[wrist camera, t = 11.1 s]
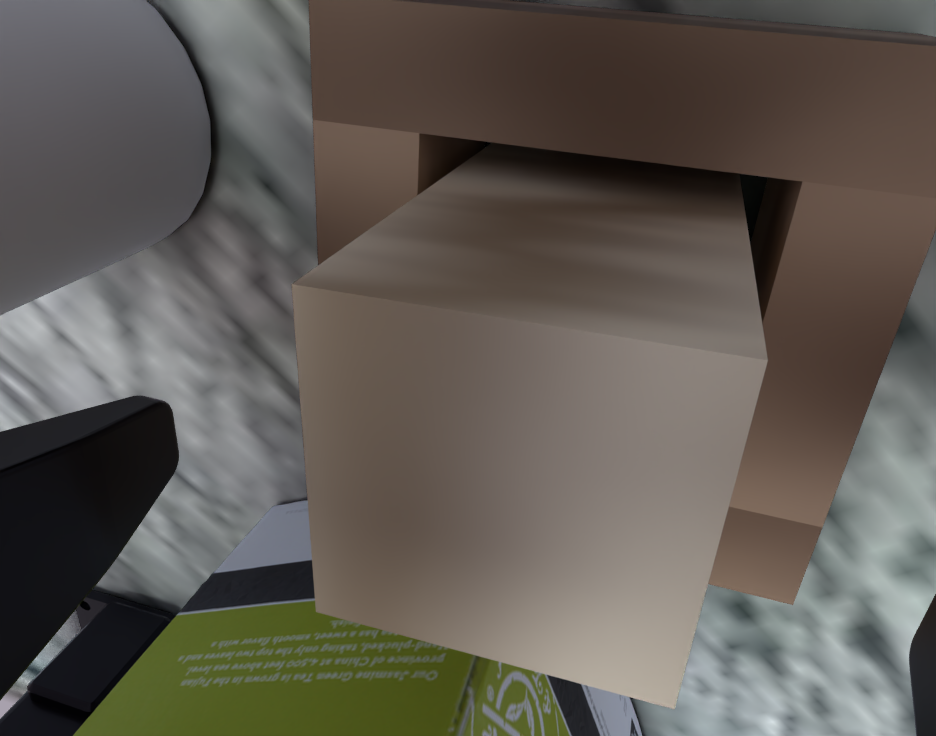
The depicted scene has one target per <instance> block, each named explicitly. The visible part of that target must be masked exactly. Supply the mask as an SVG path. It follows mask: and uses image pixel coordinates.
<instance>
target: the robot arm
mask: <svg viewBox="0 0 936 736" xmlns="http://www.w3.org/2000/svg"><path fill="white" fill-rule="evenodd" d="M178 461H179V450H178V443H177V437H176V430H175V424H174V417H173V412H172V409H171V407H170V405H169V404H168V403H166V402H165V401H162V400H158V399H154V398H150V397H145V396H132V397H128V398H125V399H121V400H117V401H113V402H110V403H106V404H102V405H99V406H95V407H91V408H87V409H84V410H80V411H76V412H73V413H69V414H65V415H62V416H58V417H54V418H50V419H47V420H43V421H39V422H36V423H32V424H28V425H25V426H21V427H17V428H13V429H10V430H6V431H2V432H0V700H1V699H2V698H3V696H4V695H5V694H6V693H7V692H8V690H9V689H10V688H11V687H12V686H13V684H14V683H15V682H16V681H17V680H18V678H19V677H20V676H21V675H22V674H23V672H24V671H25V670H26V669H27V668H28V666H29V665H30V664H31V663H32V661H33V660H34V659H35V658H36V657H37V655H38V654H39V653H40V652H41V651H42V649H43V648H44V647H45V646H46V645H47V643H48V642H49V641H50V640H51V639H52V637H53V636H54V635H55V634H56V633H57V631H58V630H59V629H60V628H61V627H62V625H63V624H64V623H65V622H66V620H67V619H68V618H69V617H70V616H71V614H72V613H73V612H74V611H75V610H76V611H77V614H78V618H79V622H80V626H81V631H80V632H79V633H78V634H77V635H76V636H75V637H74V638H73V639H72V640H71V641H70V642H69V643H68V644H67V645H66V646H65V647H64V648H63V649H62V650H61V651H60V652H59V653H58V654H57V655H56V656H55V658H54V659H53V660H52V661H51V662H50V663H49V664H48V665H47V666H46V667H45V668H44V669H43V670H42V671H41V672H40V673H39V674H38V675H37V676H36V677H35V678H34V679H33V680H32V681H31V682H30V683H29V685H28V686H27V689H28V691H27V692H26V693H25V694H24V695H23V696H22V697H21V698H20V699H19V700H18V701H17V702H16V703H15V704H14V705H13V707H11V708H10V710H8V712H7V713H5V714H4V716H3V717H2V718H1V719H0V736H73V735H74V734H75V733H76V731H77V730H78V729H79V728H80V727H81V726H82V724H83V723H84V722H85V721H86V720H87V719H88V717H89V716H90V715H91V714H92V713H93V712H94V710H95V709H96V708H97V707H98V706H99V705H100V703H101V702H102V701H103V700H104V699H105V698H106V696H107V695H108V694H109V693H110V692H111V691H112V689H113V688H114V687H115V686H116V685H117V684H118V682H119V681H120V680H121V679H122V678H123V677H124V675H125V674H126V673H127V672H128V671H129V670H130V668H131V667H132V666H133V665H134V664H135V663H136V661H137V660H138V659H139V658H140V657H141V656H142V655H143V653H144V652H145V651H146V650H147V649H148V648H149V646H150V645H151V644H152V643H153V642H154V641H155V640H156V638H157V637H158V636H159V635H160V634H161V633H162V632H163V630H164V629H165V628H166V627H167V626H168V625H169V624H170V622H171V621H172V620H173V619H174V618H175V617H176V615H174V614H170V613H167V612H164V611H161V610H157V609H154V608H151V607H147V606H144V605H141V604H137V603H134V602H131V601H128V600H124V599H121V598H118V597H114V596H111V595H108V594H105V593H101V592H98V591H95V590H92V589H93V588H94V587H95V586H96V584H97V583H98V582H99V581H100V579H101V578H102V577H103V575H104V574H105V573H106V572H107V570H108V569H109V568H110V567H111V565H112V564H113V562H114V561H115V559H116V558H117V557H118V555H119V554H120V553H121V551H122V550H123V548H124V547H125V545H126V544H127V542H128V541H129V539H130V538H131V536H132V535H133V533H134V532H135V530H136V529H137V528H138V526H139V525H140V523H141V522H142V520H143V519H144V517H145V516H146V514H147V513H148V511H149V510H150V508H151V507H152V505H153V504H154V502H155V501H156V499H157V498H158V496H159V495H160V493H161V492H162V491H163V489H164V488H165V486H166V485H167V483H168V482H169V480H170V479H171V477H172V476H173V474H174V472H175V470H176V468H177V465H178ZM909 665H910V676H911V686H912V697H913V707H914V718H915V728H916V736H936V595H935V596H934V598H933V600H932V602H931V604H930V606H929V608H928V610H927V612H926V614H925V616H924V618H923V620H922V622H921V624H920V626H919V628H918V630H917V632H916V634H915V636H914V638H913V640H912V643H911V647H910V654H909Z"/></svg>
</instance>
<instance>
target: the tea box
mask: <svg viewBox="0 0 936 736" xmlns="http://www.w3.org/2000/svg"><path fill="white" fill-rule="evenodd" d="M73 736H642V733H641V730H640V726H639V723H638V719H637V717H636V714H635V711H634V708H633V705H632V703H631V700H630V697H627V696H624V695H620V694H616V693H612V692H609V691H605V690H601V689H598V688H594V687H590V686H587V685H583V684H579V683H576V682H572V681H568V680H565V679H561V678H557V677H554V676H550V675H546V674H543V673H539V672H535V671H532V670H528V669H524V668H520V667H517V666H513V665H509V664H506V663H502V662H498V661H495V660H491V659H487V658H484V657H480V656H476V655H473V654H469V653H465V652H462V651H458V650H454V649H451V648H447V647H443V646H439V645H436V644H432V643H428V642H425V641H421V640H417V639H414V638H410V637H406V636H403V635H399V634H395V633H392V632H388V631H384V630H381V629H377V628H373V627H370V626H366V625H362V624H359V623H355V622H351V621H347V620H344V619H340V618H336V617H333V616H329V615H325V614H322V613H318V612H316V607H315V593H314V580H313V566H312V553H311V540H310V526H309V513H308V500H305V501H299V502H293V503H289V504H283V505H276V506H273V507H272V508H271V509H270V510H269V511H268V512H267V513H266V514H265V515H264V516H263V518H262V519H261V520H260V521H259V522H258V523H257V525H256V526H255V527H254V528H253V529H252V530H251V531H250V532H249V533H248V534H247V536H246V537H245V538H244V539H243V540H242V541H241V542H240V543H239V544H238V546H237V547H236V548H235V549H234V550H233V551H232V552H231V553H230V555H229V556H228V557H227V558H226V559H225V560H224V562H223V563H222V564H221V565H220V566H219V568H218V569H217V570H216V571H215V572H214V573H213V574H211V576H210V577H209V578H208V580H207V581H206V582H204V583H203V584H202V585H201V587H200V588H199V589H198V591H197V592H196V593H195V594H194V595H193V596H192V598H191V599H190V600H189V601H188V603H187V604H186V605H185V606H184V608H183V609H182V610H181V611H180V612H179V613H178V614H177V615H176V617H175V618H174V619H173V620H172V621H171V622H170V624H169V625H168V626H167V627H166V628H165V629H164V630H163V632H162V633H161V634H160V635H159V636H158V637H157V638H156V640H155V641H154V642H153V643H152V644H151V645H150V646H149V648H148V649H147V650H146V651H145V652H144V653H143V655H142V656H141V657H140V658H139V659H138V660H137V661H136V663H135V664H134V665H133V666H132V667H131V668H130V670H129V671H128V672H127V673H126V674H125V675H124V677H123V678H122V679H121V680H120V681H119V682H118V684H117V685H116V686H115V687H114V688H113V689H112V691H111V692H110V693H109V694H108V695H107V696H106V698H105V699H104V700H103V701H102V702H101V703H100V705H99V706H98V707H97V708H96V709H95V710H94V712H93V713H92V714H91V715H90V716H89V717H88V719H87V720H86V721H85V722H84V723H83V724H82V726H81V727H80V728H79V729H78V730H77V731H76V733H75V734H74V735H73Z"/></svg>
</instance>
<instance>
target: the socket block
mask: <svg viewBox="0 0 936 736" xmlns="http://www.w3.org/2000/svg"><path fill="white" fill-rule="evenodd" d="M309 25H310V53H311V81H312V109H313V137H314V166H315V194H316V222H317V250H318V265H319V264H321V263H322V262H324V261H325V260H327V259H328V258H329V257H331V256H332V255H334V254H335V253H336V252H338V251H339V250H341V249H342V248H344V247H345V246H346V245H348V244H349V243H351V242H352V241H354V240H355V239H356V238H358V237H359V236H361V235H362V234H363V233H365V232H366V231H368V230H369V229H371V228H372V227H373V226H375V225H376V224H378V223H379V222H380V221H382V220H383V219H385V218H386V217H388V216H389V215H390V214H392V213H393V212H395V211H396V210H398V209H399V208H400V207H402V206H403V205H405V204H406V203H407V202H409V201H410V200H412V199H413V198H415V197H416V196H417V195H419V194H420V193H422V192H423V191H424V190H426V189H427V188H429V187H430V186H432V185H433V184H434V183H436V182H437V181H439V180H440V179H442V178H443V177H444V176H446V175H447V174H449V173H450V172H451V171H453V170H454V169H456V168H457V167H459V166H460V165H461V164H463V163H464V162H466V161H467V160H468V159H470V158H471V157H473V156H474V155H476V154H477V153H478V152H480V151H481V150H483V149H484V144H485V142H493V143H501V144H508V145H516V146H524V147H532V148H540V149H548V150H556V151H564V152H572V153H580V154H588V155H596V156H604V157H611V158H619V159H627V160H635V161H643V162H651V163H659V164H667V165H675V166H683V167H691V168H699V169H707V170H714V171H722V172H730V173H738V174H746V175H754V176H762V177H768V178H767V182H766V186H765V190H764V194H763V197H762V201H761V205H760V209H759V213H758V217H757V221H756V224H755V228H754V232H753V236H752V240H751V244H750V246H751V253H752V260H753V266H754V273H755V279H756V286H757V292H758V299H759V305H760V312H761V319H762V325H763V332H764V338H765V345H766V351H767V358H768V362H767V366H766V369H765V373H764V377H763V381H762V384H761V388H760V392H759V396H758V399H757V403H756V407H755V411H754V414H753V418H752V422H751V425H750V429H749V433H748V437H747V440H746V444H745V448H744V452H743V455H742V459H741V463H740V467H739V470H738V474H737V478H736V482H735V485H734V489H733V493H732V496H731V500H730V504H729V508H728V511H727V515H726V519H725V523H724V526H723V530H722V534H721V538H720V541H719V545H718V549H717V552H716V556H715V560H714V564H713V567H712V571H711V575H710V579H709V582H708V584H711V585H715V586H719V587H723V588H727V589H731V590H735V591H739V592H743V593H747V594H751V595H755V596H759V597H763V598H767V599H771V600H775V601H779V602H783V603H787V604H791V605H793V603H794V600H795V598H796V595H797V593H798V590H799V587H800V585H801V582H802V579H803V577H804V574H805V572H806V569H807V566H808V564H809V561H810V558H811V556H812V553H813V551H814V548H815V545H816V543H817V540H818V537H819V535H820V532H821V530H822V527H823V524H824V522H825V519H826V516H827V514H828V511H829V509H830V506H831V503H832V501H833V498H834V495H835V493H836V490H837V488H838V485H839V482H840V480H841V477H842V474H843V472H844V469H845V467H846V464H847V461H848V459H849V456H850V453H851V451H852V448H853V446H854V443H855V440H856V438H857V435H858V433H859V430H860V427H861V425H862V422H863V419H864V417H865V414H866V412H867V409H868V406H869V404H870V401H871V398H872V396H873V393H874V391H875V388H876V385H877V383H878V380H879V377H880V375H881V372H882V370H883V367H884V364H885V362H886V359H887V356H888V354H889V351H890V349H891V346H892V343H893V341H894V338H895V335H896V333H897V330H898V328H899V325H900V322H901V320H902V317H903V314H904V312H905V309H906V307H907V304H908V301H909V299H910V296H911V293H912V291H913V288H914V286H915V283H916V280H917V278H918V275H919V272H920V270H921V267H922V265H923V262H924V259H925V257H926V254H927V251H928V249H929V246H930V244H931V241H932V238H933V236H934V233H935V231H936V37H933V36H928V35H923V34H915V33H903V32H890V31H878V30H866V29H853V28H841V27H829V26H817V25H804V24H792V23H780V22H768V21H755V20H743V19H731V18H718V17H706V16H694V15H682V14H669V13H657V12H645V11H633V10H620V9H608V8H596V7H583V6H571V5H559V4H547V3H534V2H522V1H510V0H309Z"/></svg>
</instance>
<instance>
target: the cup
mask: <svg viewBox="0 0 936 736" xmlns="http://www.w3.org/2000/svg"><path fill="white" fill-rule="evenodd" d="M210 161H211V127H210V117H209V113H208V109H207V105H206V100H205V96H204V92H203V88H202V84H201V82H200V80H199V78H198V75H197V73H196V71H195V69H194V67H193V65H192V63H191V60H190V58H189V56H188V54H187V52H186V50H185V48H184V47H183V45H182V44H181V42H180V41H179V40H178V38H177V37H176V36H175V34H174V33H173V31H172V30H171V29H170V27H169V26H168V25H167V23H166V22H165V20H164V19H163V18H162V16H161V15H160V14H159V13H158V11H157V10H156V9H155V8H154V7H153V6H151V5H150V4H149V3H148V2H147V1H146V0H0V315H2V314H4V313H6V312H8V311H11V310H13V309H15V308H17V307H19V306H21V305H24V304H26V303H28V302H30V301H32V300H35V299H37V298H39V297H41V296H43V295H45V294H48V293H50V292H52V291H54V290H56V289H59V288H61V287H63V286H65V285H67V284H69V283H72V282H74V281H76V280H78V279H80V278H82V277H85V276H87V275H89V274H91V273H93V272H96V271H98V270H100V269H102V268H104V267H106V266H109V265H111V264H113V263H115V262H117V261H120V260H122V259H124V258H126V257H128V256H130V255H133V254H135V253H137V252H139V251H141V250H144V249H146V248H148V247H150V246H152V245H154V244H156V243H157V242H159V241H161V240H162V239H164V238H166V237H168V236H169V235H170V234H171V233H173V232H174V231H175V230H176V229H177V228H178V227H180V226H181V225H182V224H183V223H184V222H185V221H187V220H188V219H189V217H190V215H191V214H192V212H193V210H194V208H195V207H196V205H197V203H198V201H199V200H200V198H201V196H202V194H203V191H204V187H205V183H206V178H207V174H208V170H209V165H210Z"/></svg>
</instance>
